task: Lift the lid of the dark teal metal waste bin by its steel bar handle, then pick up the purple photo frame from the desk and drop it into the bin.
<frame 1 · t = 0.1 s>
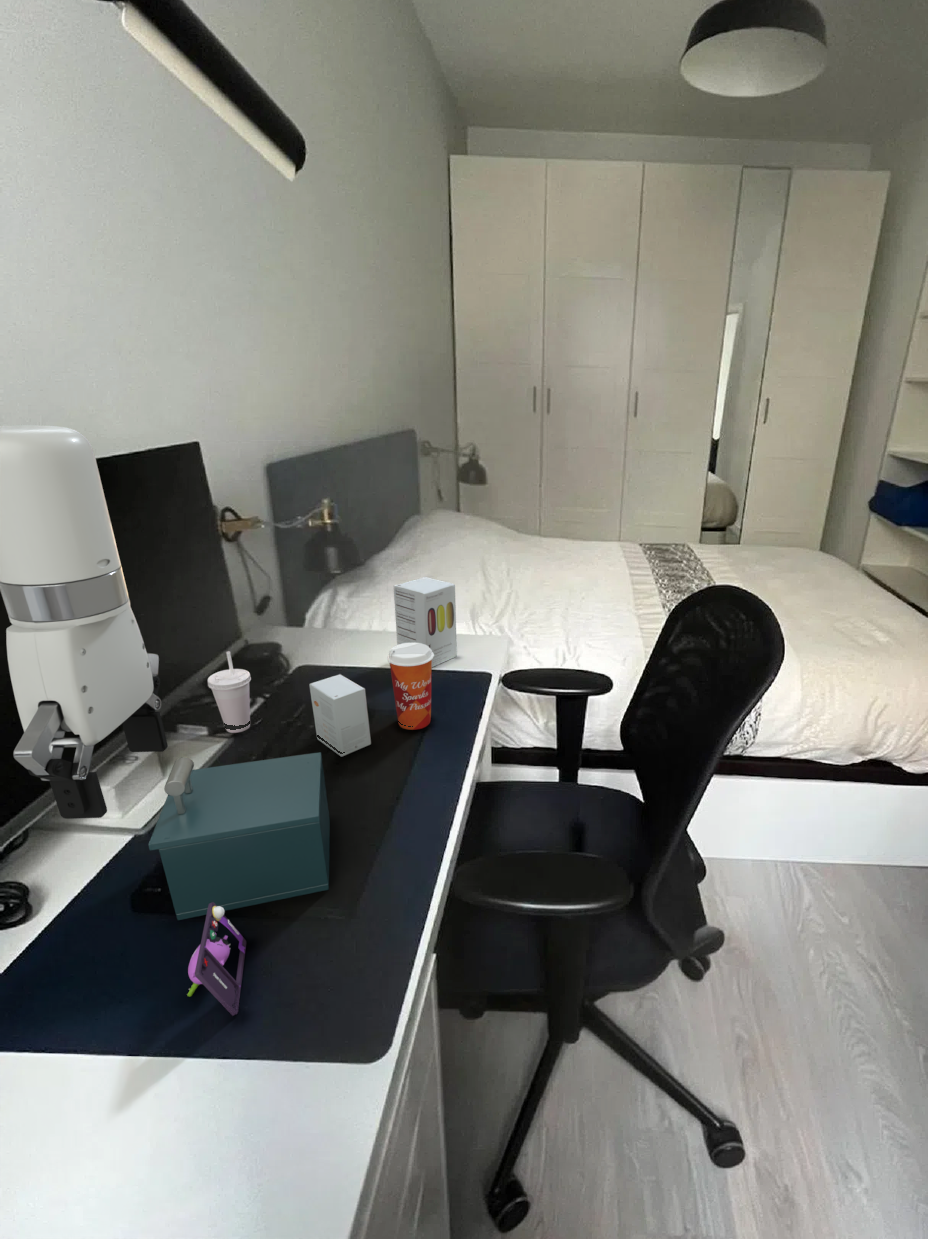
hand: (119, 780, 55), 23 cm above the table, tool pointing down, fingers open, 9 cm apart
bin lid: (242, 779, 73), point 13 cm above the table, hinge at 0.0°
purple photo frame: (216, 984, 63), on the table
bin: (261, 864, 78), on the table
paper cup: (415, 722, 112), on the table
supplement box: (428, 658, 138), on the table
small box: (343, 743, 105), on the table
smoothie: (238, 728, 108), on the table
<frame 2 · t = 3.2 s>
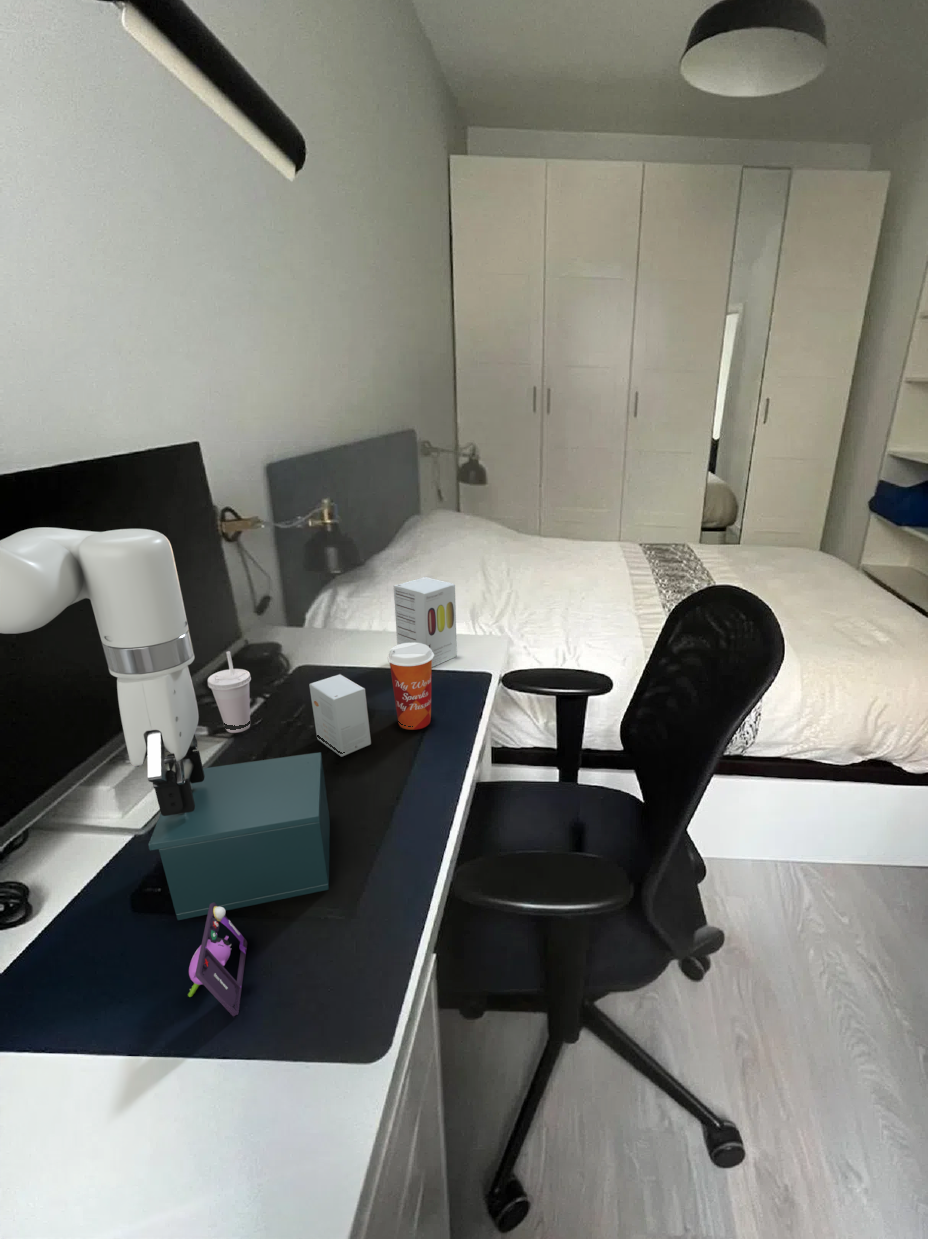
hand: (184, 795, 72), 12 cm above the table, tool pointing down, fingers closed on bin lid, 5 cm apart
bin lid: (242, 779, 73), point 13 cm above the table, hinge at 0.0°, touching gripper
everything else where it was.
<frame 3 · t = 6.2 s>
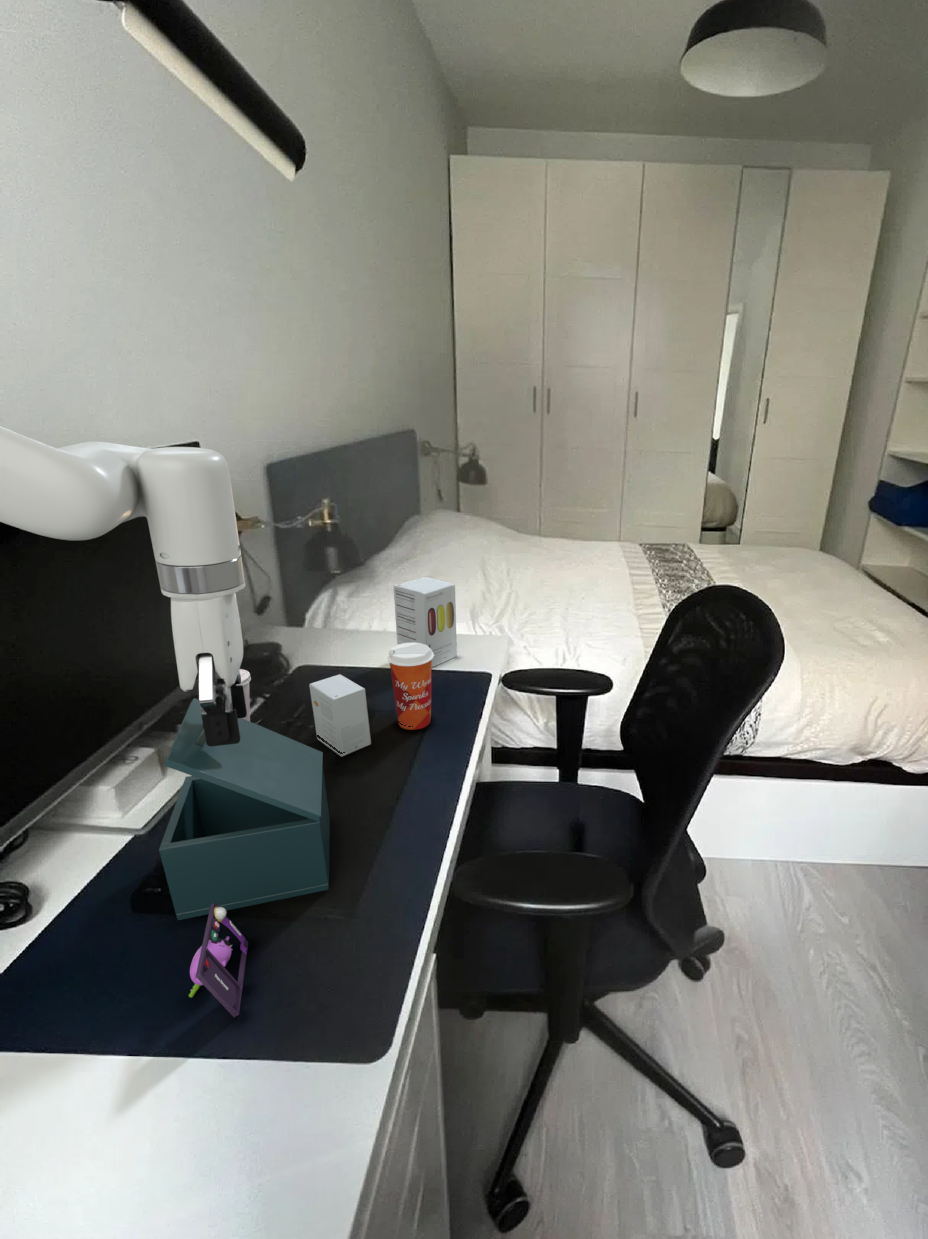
hand: (227, 728, 71), 19 cm above the table, tool pointing down, fingers closed on bin lid, 5 cm apart
bin lid: (264, 742, 73), point 17 cm above the table, hinge at 36.6°, touching gripper
everything else where it was.
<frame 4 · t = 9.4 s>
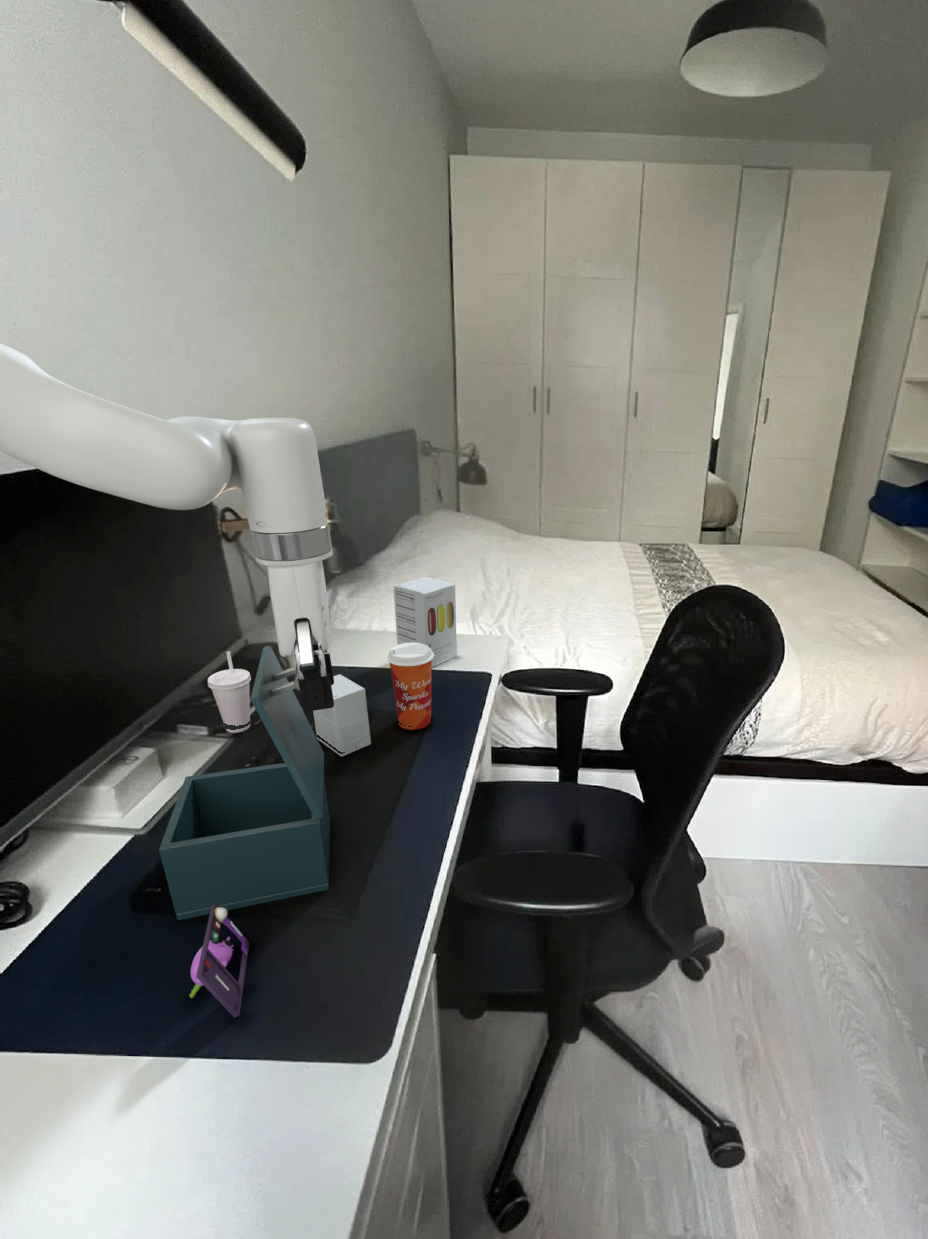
hand: (319, 695, 73), 22 cm above the table, tool pointing down, fingers closed on bin lid, 5 cm apart
bin lid: (311, 722, 74), point 19 cm above the table, hinge at 74.5°, touching gripper
everything else where it was.
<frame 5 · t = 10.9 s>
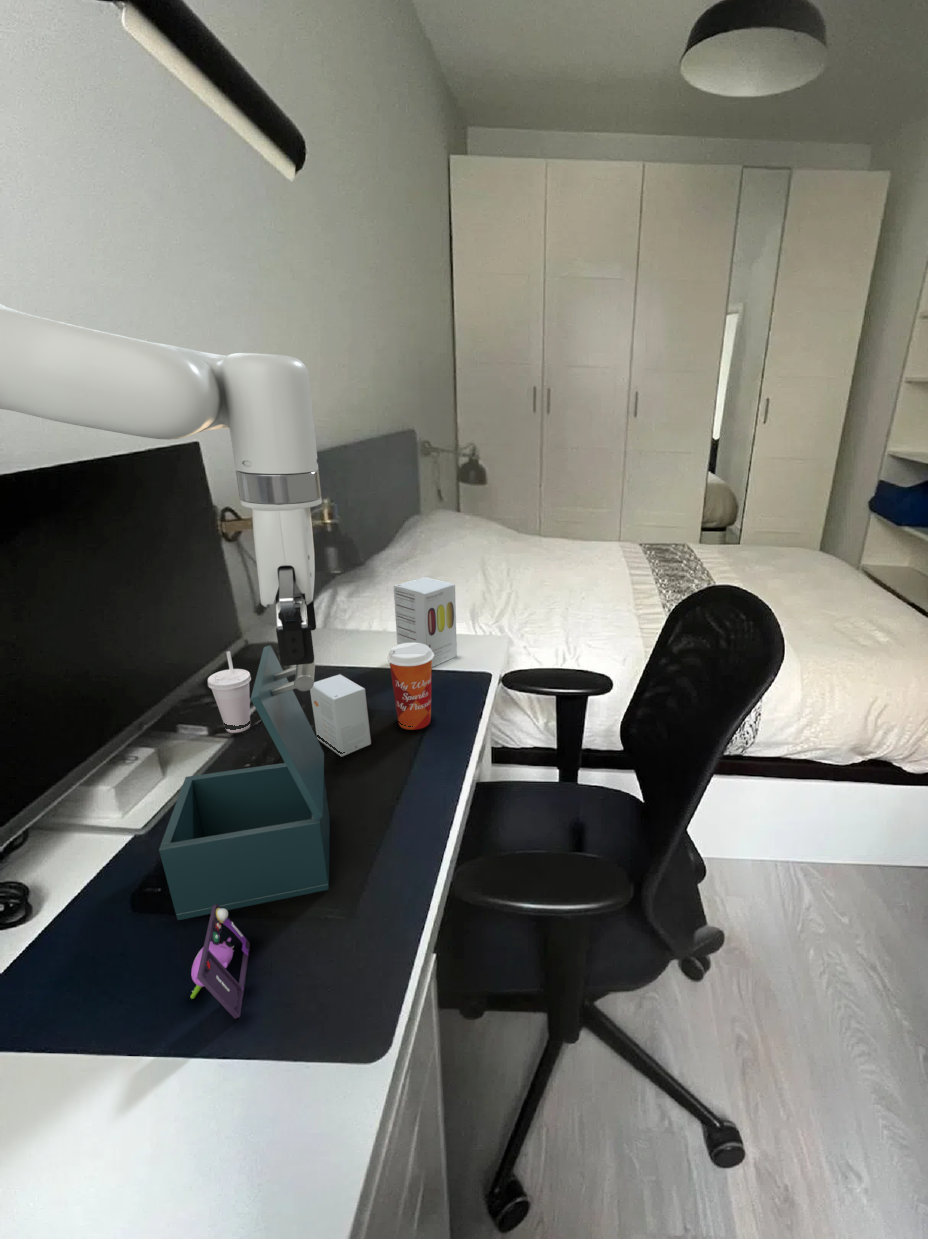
hand: (300, 645, 69), 29 cm above the table, tool pointing down, fingers open, 9 cm apart
bin lid: (311, 722, 74), point 19 cm above the table, hinge at 74.6°
everything else where it was.
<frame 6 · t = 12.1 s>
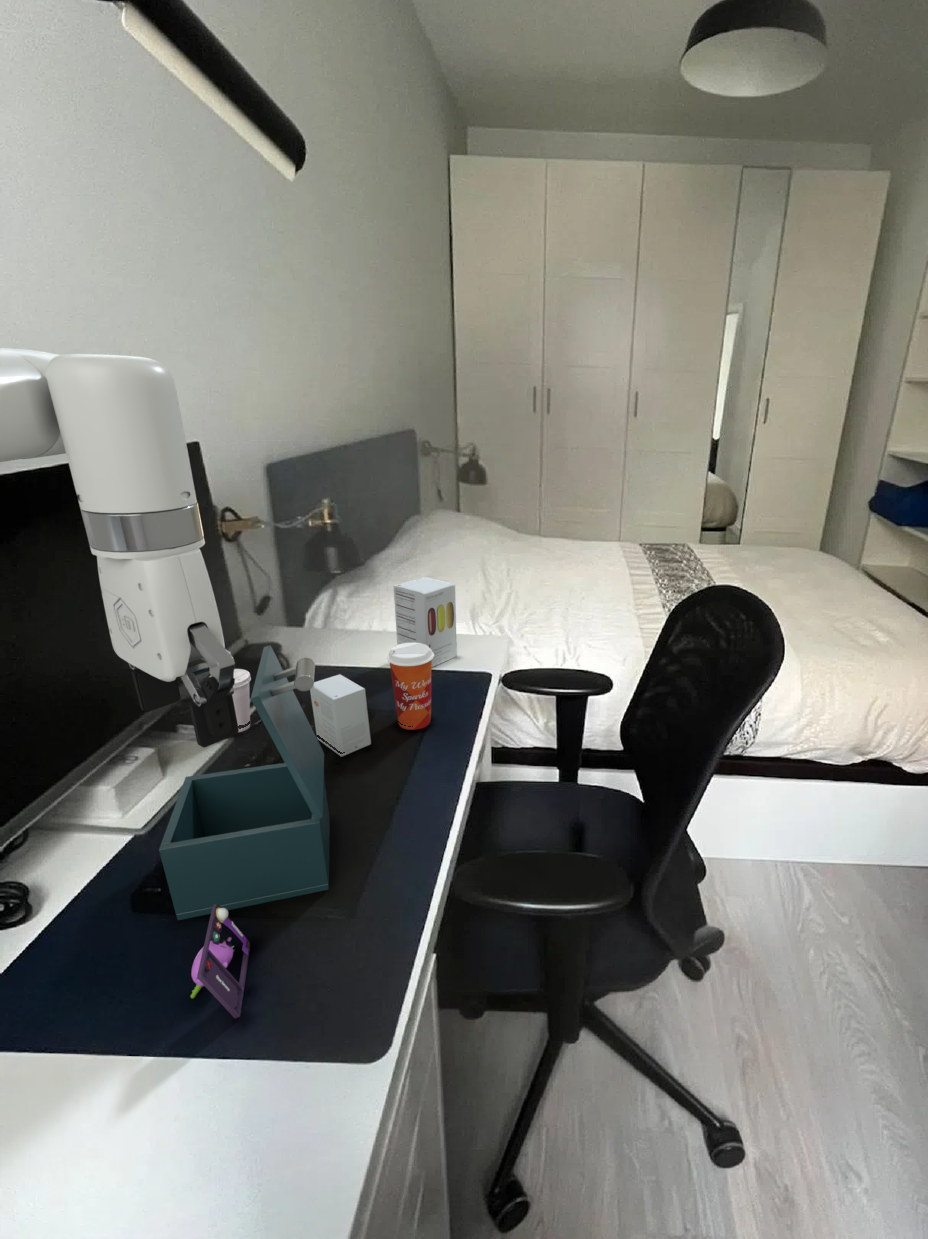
hand: (189, 722, 55), 28 cm above the table, tool pointing down, fingers open, 9 cm apart
nothing on the table moved.
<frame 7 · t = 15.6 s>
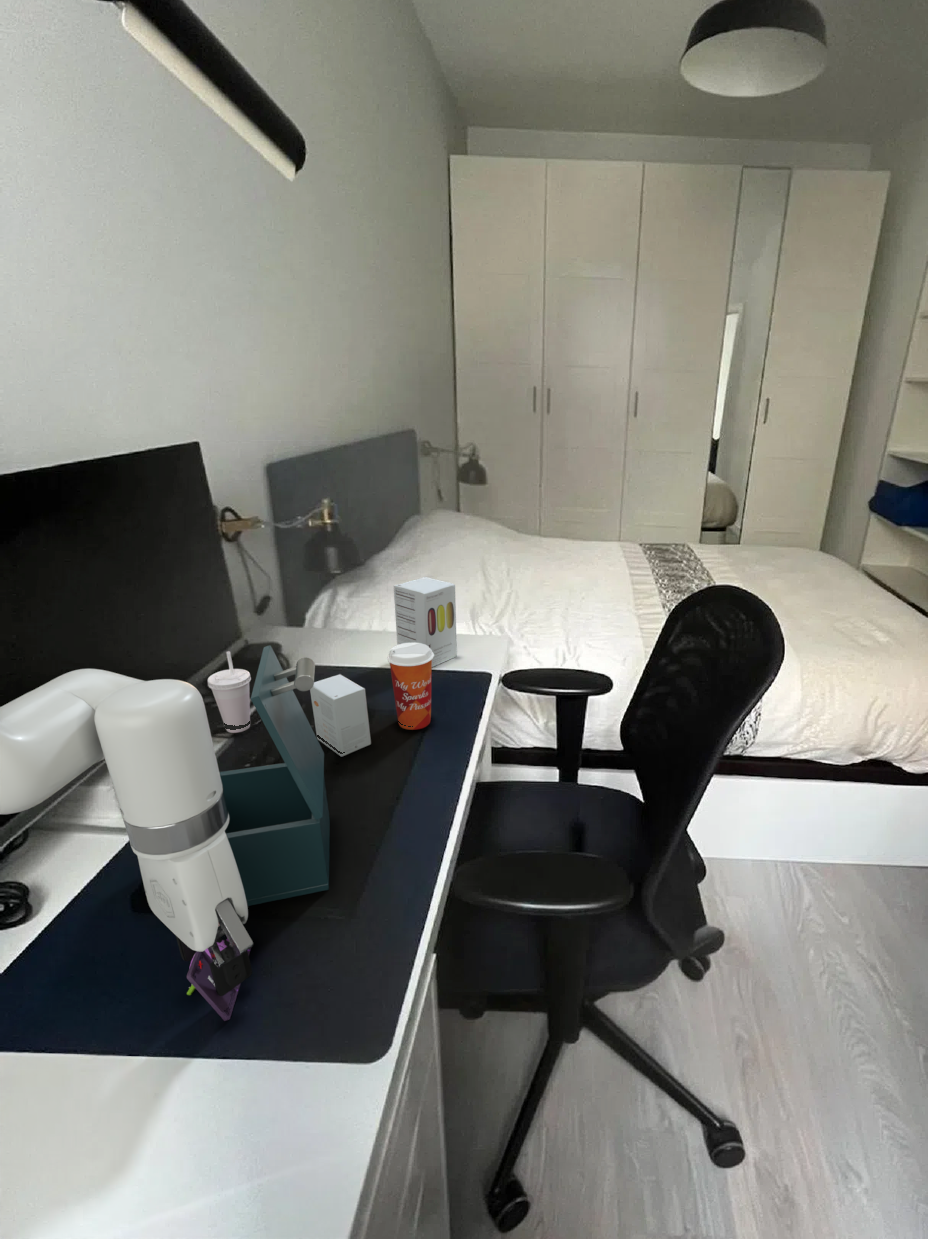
hand: (217, 966, 62), 2 cm above the table, tool pointing down, fingers closed on purple photo frame, 5 cm apart
purple photo frame: (216, 985, 63), on the table, touching gripper
everything else where it was.
when the fingers open (11 cm above the table, at t = 24.1 s): purple photo frame drops 7 cm, resting on bin.
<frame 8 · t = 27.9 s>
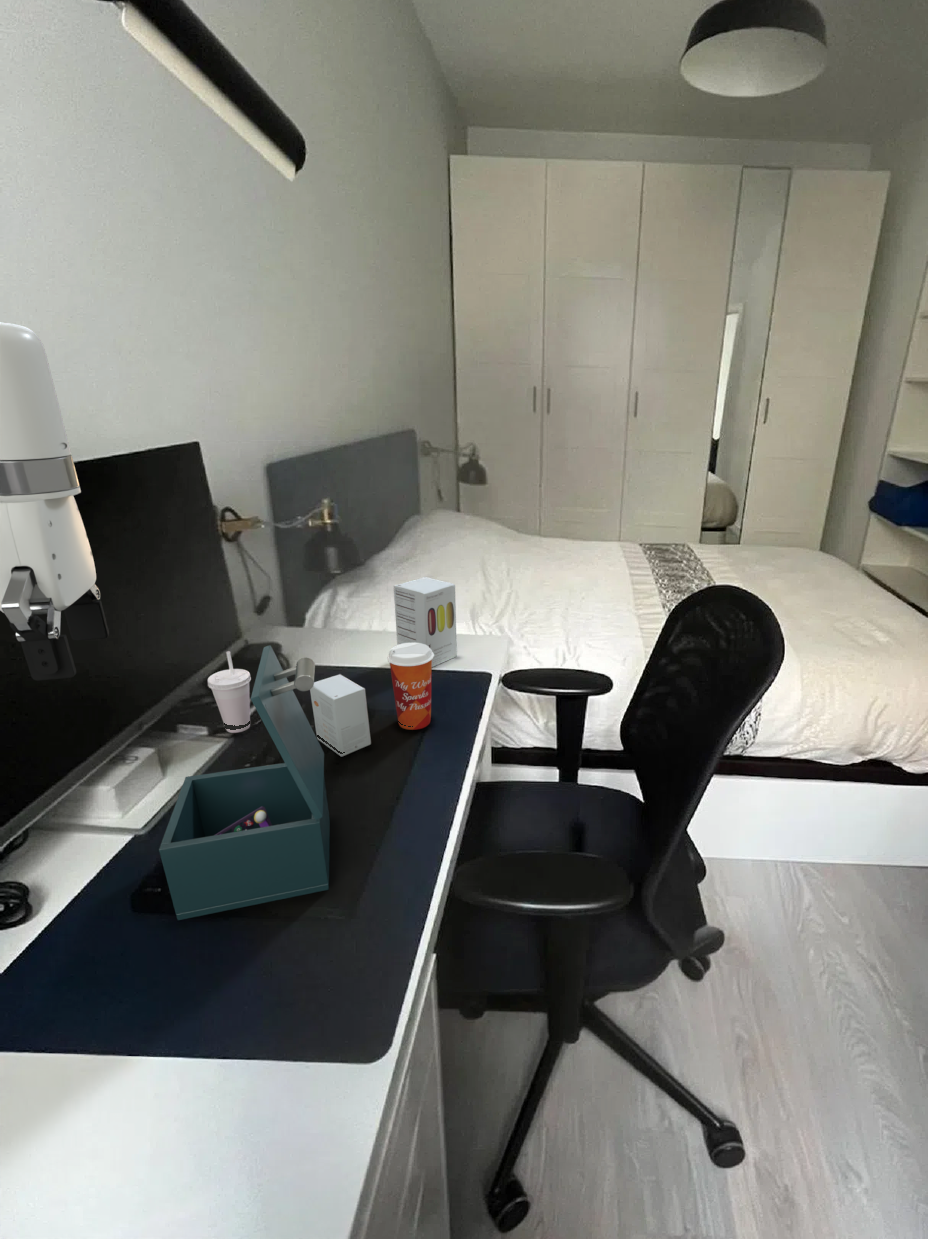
hand: (74, 656, 61), 30 cm above the table, tool pointing down, fingers open, 9 cm apart
purple photo frame: (239, 870, 76), point 1 cm above the table, touching bin
everything else where it was.
at the end: bin lid at +75° (first picture: +0°); purple photo frame inside the target area in the bin (2.6 cm from its centre), point 0.7 cm above the bin's base; the gripper is holding nothing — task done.
